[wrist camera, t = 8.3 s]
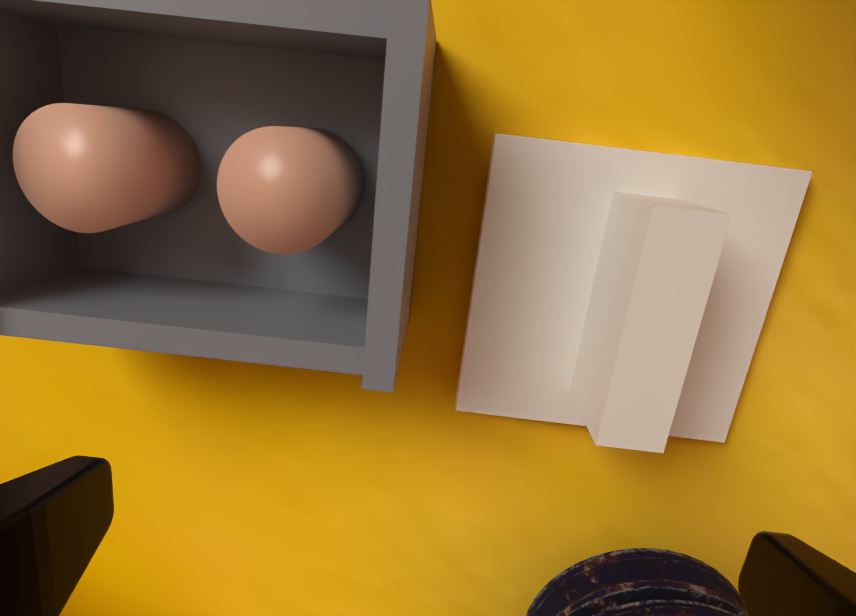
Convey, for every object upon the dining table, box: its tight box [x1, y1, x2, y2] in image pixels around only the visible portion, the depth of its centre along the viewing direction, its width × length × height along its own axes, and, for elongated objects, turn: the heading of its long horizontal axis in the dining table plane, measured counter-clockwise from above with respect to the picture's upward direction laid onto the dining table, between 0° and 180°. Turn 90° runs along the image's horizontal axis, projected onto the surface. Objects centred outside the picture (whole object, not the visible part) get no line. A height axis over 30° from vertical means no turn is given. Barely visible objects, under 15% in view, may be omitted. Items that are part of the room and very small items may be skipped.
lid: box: [455, 133, 813, 453], centre depth 17 cm, size 10×10×5 cm
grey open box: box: [0, 0, 437, 392], centre depth 15 cm, size 9×12×6 cm
